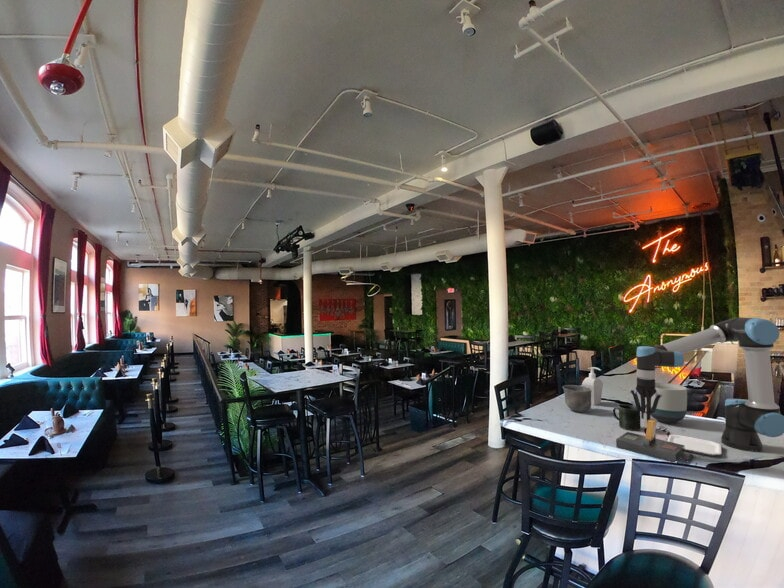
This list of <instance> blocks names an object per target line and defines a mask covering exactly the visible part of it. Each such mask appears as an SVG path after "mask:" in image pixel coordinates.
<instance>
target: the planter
mask: <svg viewBox="0 0 784 588" xmlns="http://www.w3.org/2000/svg"><path fill="white" fill-rule="evenodd" d="M655 389H656V391H657V393H659V394H661V395H662V397H661V398H660V399H659V401H658V405H657V408H656V411H655V412H654V413H651V417H652V419H656V420H657V422H661V423H665V424H676V423H679V422H681V421H683V420H684V418H685V417H686V414H687V409H688V408H687V407H688V388H687V387H686V386H683V385H679V384H674V383H668V382H656V381H655ZM655 398H656V397H655V394H654V395H653V396H652V397H651V409H652V406H653V403H654V400H655ZM646 407H647V399H646V398H645V408H646Z"/></svg>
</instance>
